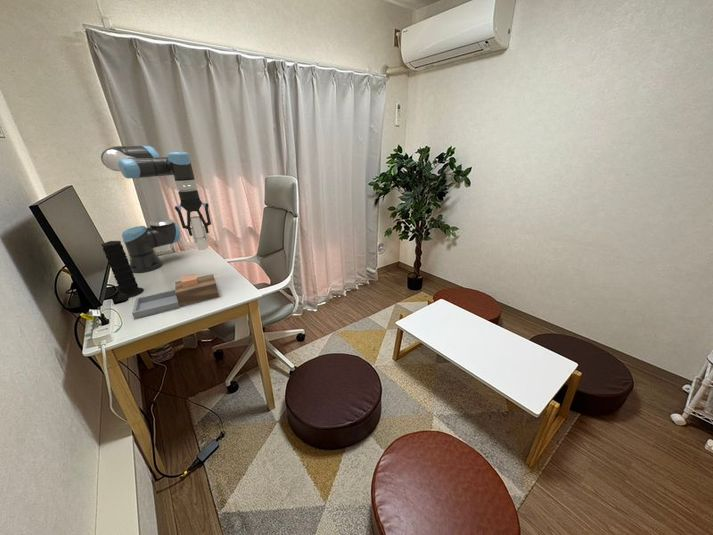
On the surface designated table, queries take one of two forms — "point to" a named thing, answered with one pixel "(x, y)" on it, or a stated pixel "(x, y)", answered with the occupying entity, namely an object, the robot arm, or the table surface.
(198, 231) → the tube
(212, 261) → the table surface
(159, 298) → the box
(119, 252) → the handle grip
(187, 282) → the terracotta tile
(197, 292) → the walnut ledge
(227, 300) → the table surface
